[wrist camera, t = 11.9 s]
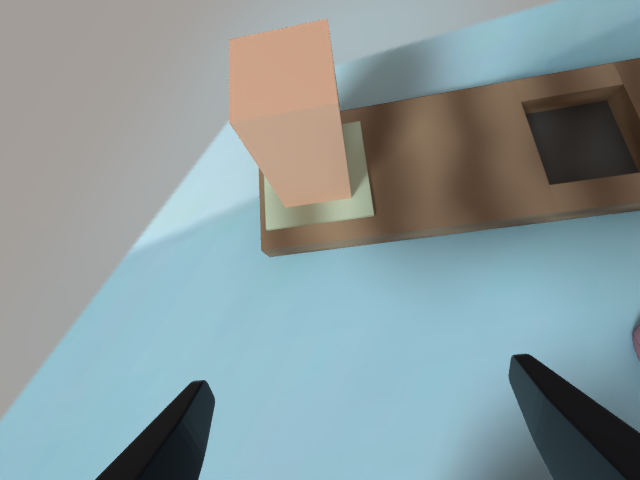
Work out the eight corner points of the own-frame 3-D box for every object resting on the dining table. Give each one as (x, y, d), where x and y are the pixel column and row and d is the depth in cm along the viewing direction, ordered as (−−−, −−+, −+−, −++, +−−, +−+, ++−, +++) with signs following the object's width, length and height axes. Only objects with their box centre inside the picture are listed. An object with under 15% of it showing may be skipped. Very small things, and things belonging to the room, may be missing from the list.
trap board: (629, 77, 25) (653, 52, 23) (691, 203, 22) (726, 189, 20) (265, 139, 29) (256, 123, 27) (269, 256, 25) (260, 249, 23)
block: (344, 140, 25) (327, 18, 15) (351, 198, 23) (338, 103, 14) (282, 150, 25) (229, 39, 16) (285, 207, 24) (229, 122, 14)
